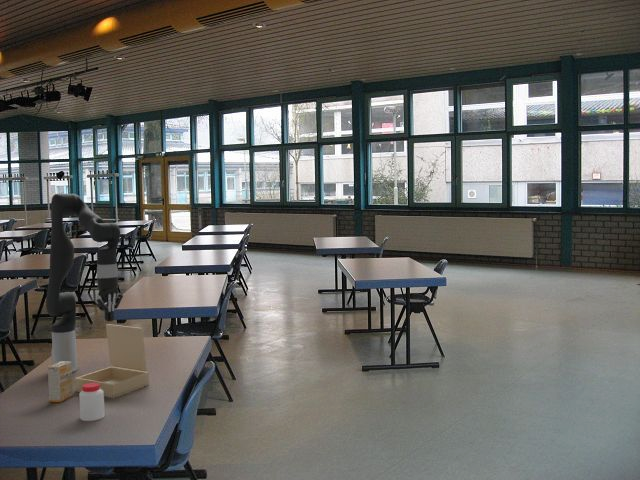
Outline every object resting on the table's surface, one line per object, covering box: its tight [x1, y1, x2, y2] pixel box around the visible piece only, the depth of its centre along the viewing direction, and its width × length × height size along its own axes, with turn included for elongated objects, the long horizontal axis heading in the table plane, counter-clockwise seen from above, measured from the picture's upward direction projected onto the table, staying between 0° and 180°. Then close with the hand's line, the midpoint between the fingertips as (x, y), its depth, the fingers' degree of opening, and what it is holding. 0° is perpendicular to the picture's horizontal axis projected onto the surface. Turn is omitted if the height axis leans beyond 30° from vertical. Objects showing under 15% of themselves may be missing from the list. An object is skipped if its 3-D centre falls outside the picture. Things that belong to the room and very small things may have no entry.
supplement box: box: [47, 361, 74, 403], centre depth 244 cm, size 8×5×13 cm, turn 168°
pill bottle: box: [78, 383, 106, 422], centre depth 224 cm, size 8×8×11 cm
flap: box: [105, 323, 148, 372], centre depth 263 cm, size 19×17×1 cm
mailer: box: [74, 366, 150, 399], centre depth 257 cm, size 20×18×5 cm
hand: (109, 321), depth 255 cm, fingers closed
